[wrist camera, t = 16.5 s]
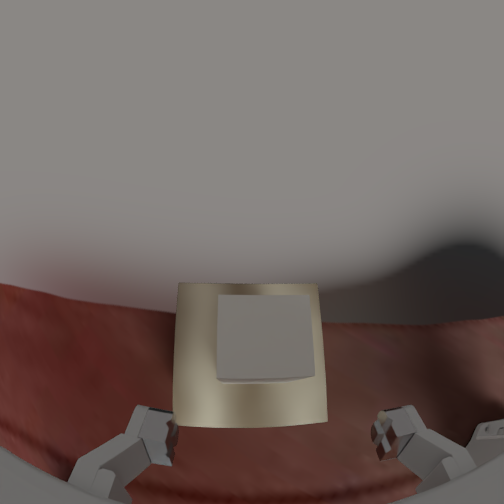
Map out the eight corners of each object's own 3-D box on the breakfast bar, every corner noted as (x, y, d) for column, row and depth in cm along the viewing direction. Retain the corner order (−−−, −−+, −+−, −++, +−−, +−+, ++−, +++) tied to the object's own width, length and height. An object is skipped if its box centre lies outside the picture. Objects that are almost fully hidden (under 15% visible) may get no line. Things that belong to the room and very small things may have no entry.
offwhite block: (285, 328, 23) (309, 295, 16) (287, 382, 20) (315, 375, 13) (223, 328, 22) (218, 294, 15) (222, 383, 20) (216, 378, 13)
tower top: (302, 304, 30) (317, 283, 25) (308, 416, 24) (327, 421, 19) (188, 304, 29) (178, 282, 24) (185, 418, 23) (172, 424, 18)
